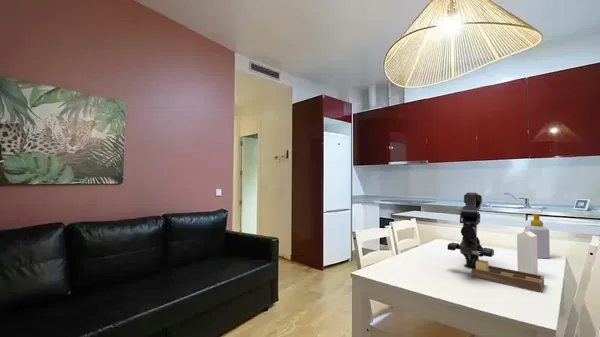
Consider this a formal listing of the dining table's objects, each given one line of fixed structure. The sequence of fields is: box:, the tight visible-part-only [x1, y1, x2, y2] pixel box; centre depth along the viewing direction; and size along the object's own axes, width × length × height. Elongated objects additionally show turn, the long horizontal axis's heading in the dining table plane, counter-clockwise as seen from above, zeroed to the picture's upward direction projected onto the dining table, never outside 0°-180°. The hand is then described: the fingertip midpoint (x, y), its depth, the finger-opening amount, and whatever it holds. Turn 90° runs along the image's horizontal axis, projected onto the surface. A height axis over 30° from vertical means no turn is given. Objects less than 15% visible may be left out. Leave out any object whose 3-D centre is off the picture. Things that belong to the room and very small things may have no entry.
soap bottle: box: [524, 213, 551, 259], centre depth 168 cm, size 9×9×25 cm
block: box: [476, 259, 489, 272], centre depth 133 cm, size 4×4×5 cm
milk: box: [516, 228, 539, 275], centre depth 138 cm, size 6×6×22 cm
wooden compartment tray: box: [471, 264, 545, 293], centre depth 128 cm, size 12×25×4 cm, turn 45°
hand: (470, 267), depth 136 cm, fingers closed
